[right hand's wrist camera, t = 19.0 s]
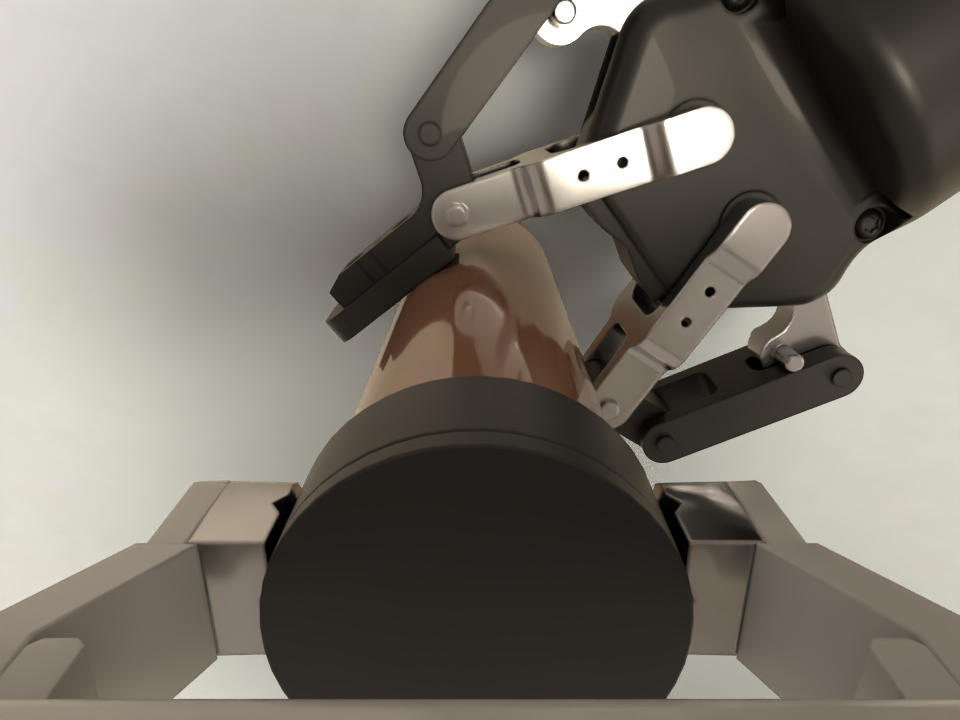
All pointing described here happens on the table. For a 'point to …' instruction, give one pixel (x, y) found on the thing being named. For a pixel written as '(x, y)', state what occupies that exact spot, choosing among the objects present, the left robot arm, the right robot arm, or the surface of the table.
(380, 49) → the table surface
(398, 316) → the jar
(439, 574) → the lid
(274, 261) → the table surface
